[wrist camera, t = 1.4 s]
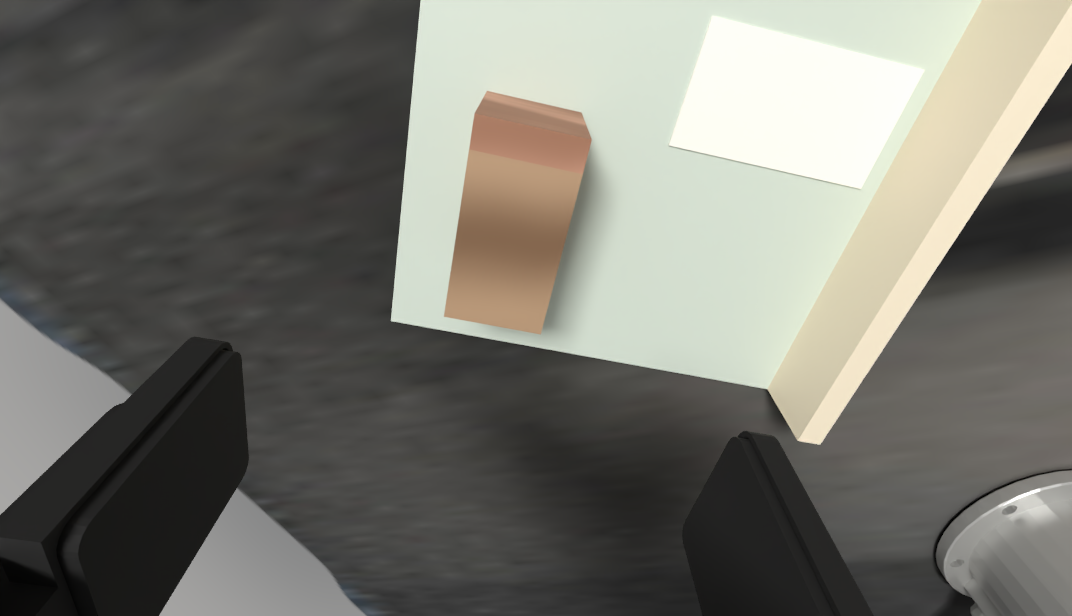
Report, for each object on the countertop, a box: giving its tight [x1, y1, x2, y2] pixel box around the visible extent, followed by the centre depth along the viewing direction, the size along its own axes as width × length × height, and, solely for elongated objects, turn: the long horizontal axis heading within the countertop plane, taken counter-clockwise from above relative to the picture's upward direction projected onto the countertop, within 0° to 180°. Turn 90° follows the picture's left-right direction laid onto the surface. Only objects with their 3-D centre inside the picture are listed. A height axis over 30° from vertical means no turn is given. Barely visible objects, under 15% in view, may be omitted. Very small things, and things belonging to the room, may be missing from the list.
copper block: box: [444, 91, 592, 334], centre depth 22 cm, size 8×4×5 cm, turn 168°
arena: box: [391, 0, 1072, 445], centre depth 21 cm, size 24×22×4 cm
